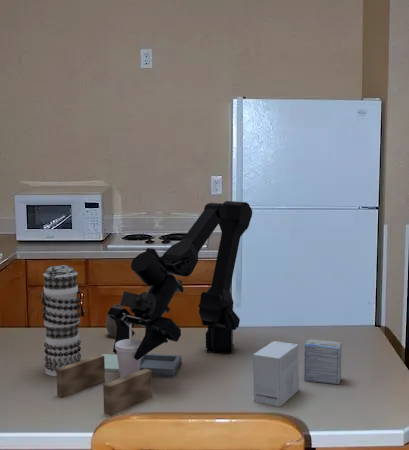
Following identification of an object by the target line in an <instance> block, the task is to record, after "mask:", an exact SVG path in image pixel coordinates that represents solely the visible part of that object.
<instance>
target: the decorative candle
mask: <svg viewBox="0 0 409 450" xmlns="http://www.w3.org/2000/svg"><path fill="white" fill-rule="evenodd" d="M78 274H79V272H78V271H76V270H75V269H74V267H73V266H71V265H64V264H63V265H62V264H61V265H53V266H50V267H48V268H47V269H46V270H45V272H44V273H42V276H43V282H44V283H43V284H44V286H43V290H42V291H41V293H40V297H41V304H42V306H43V307H41V308H42V310H41V312H42V319H43V325H44V326H45V336H44V337H45V341H44V344H43V346H44V347H45V349H44V353H45V354H46V355H45V356H44V359H43V360H44V361H45V363H44V368H45V374H46V375H48V376H51V377H57V371H56V369H57V368H60V367H63V366H66V365H69V364H72V363H75V362H77V361H80V360H82V359H81V358H82V354H81V353H80V352H81V346H80V345H81V343H82V341H81V340H80V333H79V323H81V319H80V317H81V313H79V311H78V310H80V309H81V304H79V303H81V298H79V297H77V296H78V295H80V294H81V293H82V291H81V290H80V289H79V288H78V287H79V285H78V284H77V283H78V281H77V280H78V278H77V275H78Z"/></svg>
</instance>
